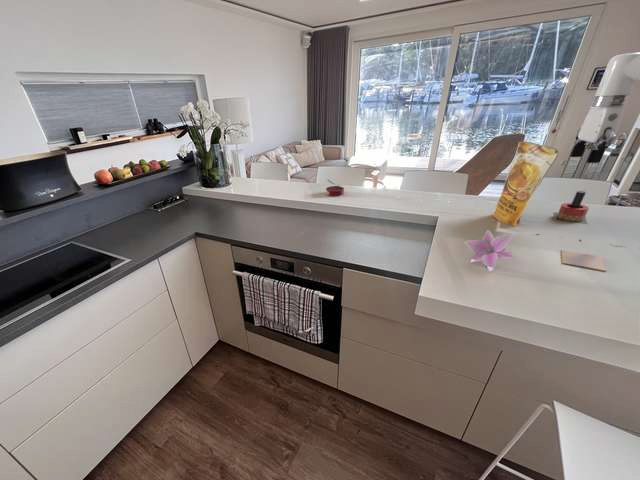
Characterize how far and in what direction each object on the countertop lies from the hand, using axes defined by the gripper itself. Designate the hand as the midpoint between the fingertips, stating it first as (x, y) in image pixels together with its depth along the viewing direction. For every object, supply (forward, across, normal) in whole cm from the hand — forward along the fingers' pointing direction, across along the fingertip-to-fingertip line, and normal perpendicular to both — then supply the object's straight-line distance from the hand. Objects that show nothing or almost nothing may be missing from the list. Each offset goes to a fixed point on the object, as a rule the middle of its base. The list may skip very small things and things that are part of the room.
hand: (583, 159), depth 97 cm
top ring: (+19, 0, -3) cm, 19 cm away
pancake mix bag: (+22, -2, +17) cm, 28 cm away
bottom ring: (+21, 0, -3) cm, 21 cm away
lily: (+22, -37, +34) cm, 55 cm away
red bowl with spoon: (+22, +34, +88) cm, 97 cm away
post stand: (+22, 0, -3) cm, 22 cm away
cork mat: (+22, -32, +8) cm, 40 cm away
